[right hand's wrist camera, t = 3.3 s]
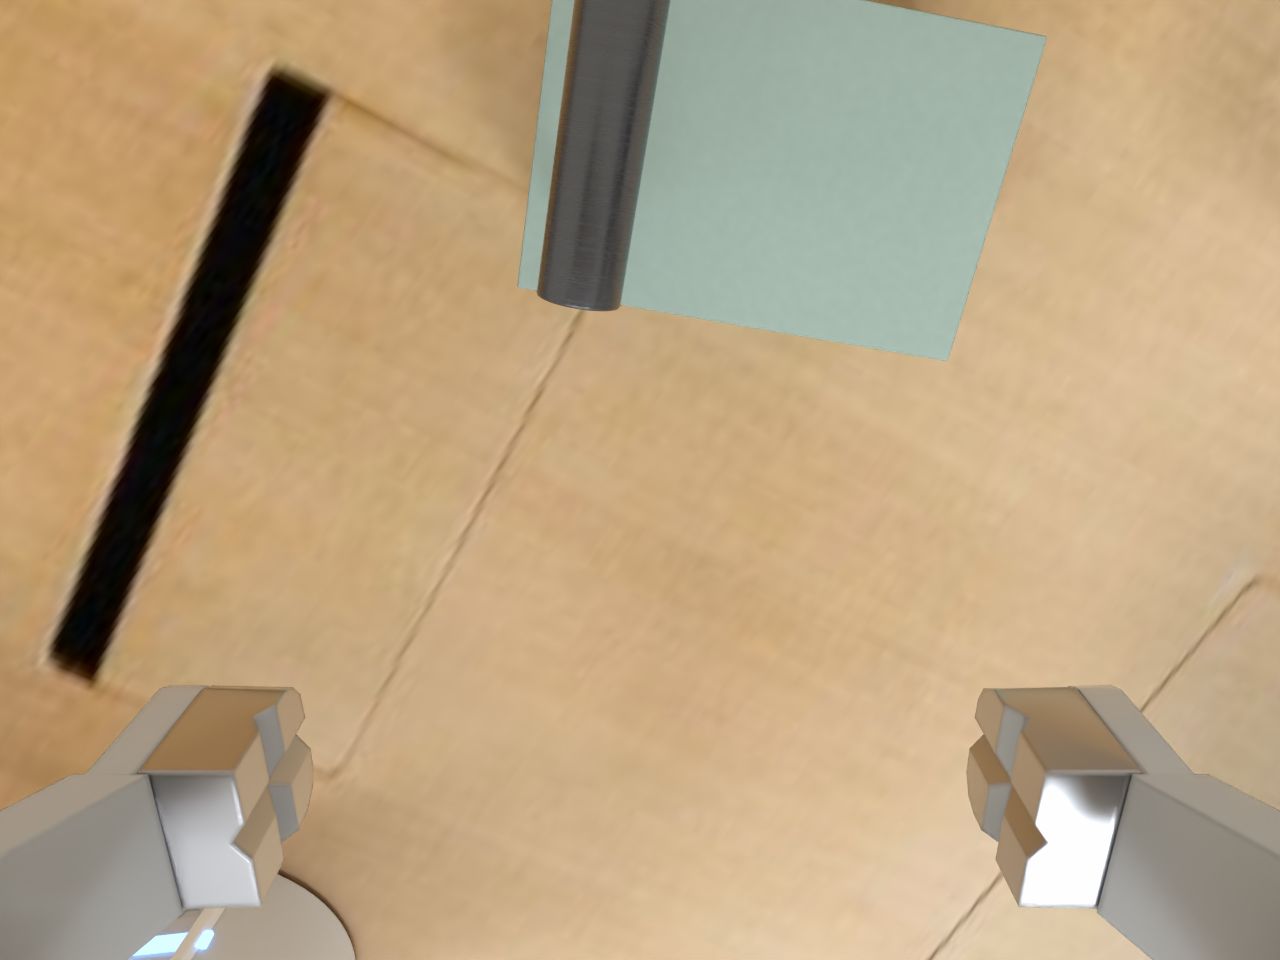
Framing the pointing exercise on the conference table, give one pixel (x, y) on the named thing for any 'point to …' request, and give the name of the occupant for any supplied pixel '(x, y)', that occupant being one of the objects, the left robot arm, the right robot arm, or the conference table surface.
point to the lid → (773, 163)
